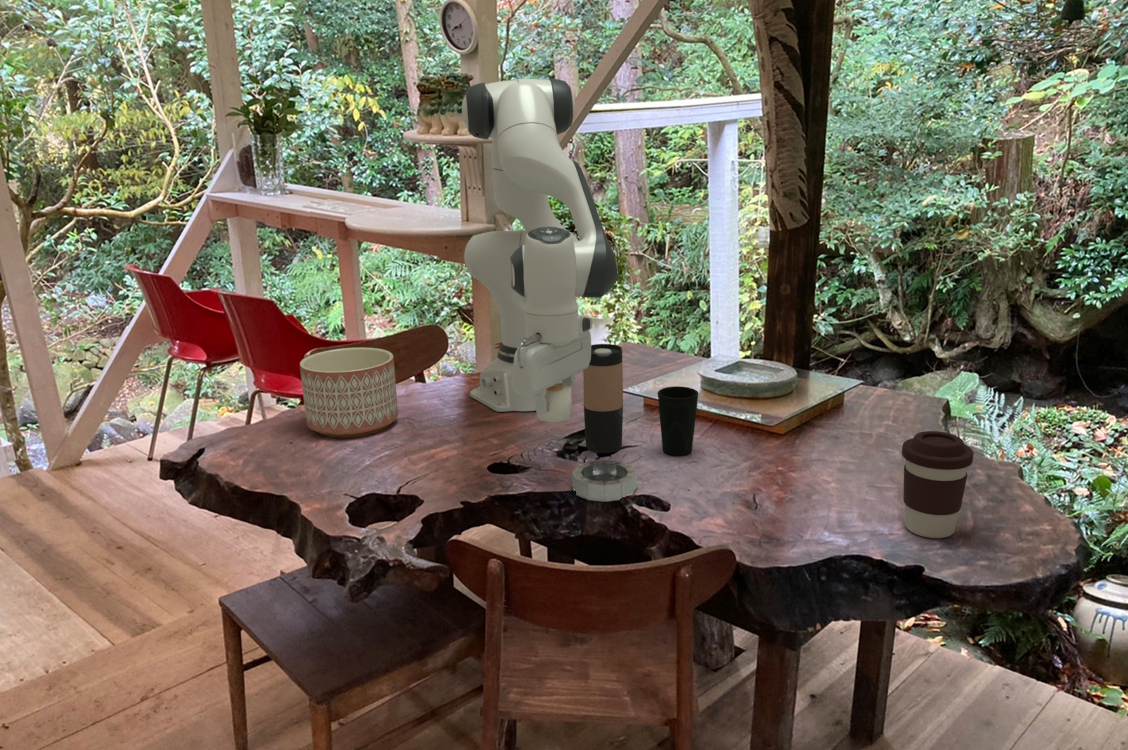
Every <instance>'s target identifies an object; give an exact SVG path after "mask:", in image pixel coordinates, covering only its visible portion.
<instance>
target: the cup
mask: <svg viewBox="0 0 1128 750" xmlns="http://www.w3.org/2000/svg"><path fill="white" fill-rule="evenodd" d="M657 398H658V399H657V400H658V401H657V402H658V410H659V411H658V413H659V422H660V423H659V424H660V434H661V435H660V436H661V445H662V452H663V454H664V455H666V456H668V457H672V458H673V457H675V458H682V457H688V456H690V455H691V454H692V452H693V446H694V445H693V443H694V435H695V425H696V418H697V410H698V401H699V391H698V390H697V389H695V388H692V387H687V386H676V385H675V386H666V387H663V388H660V389H659V390H658V391H657Z"/></svg>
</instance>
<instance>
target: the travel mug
mask: <svg viewBox="0 0 1128 750" xmlns="http://www.w3.org/2000/svg"><path fill="white" fill-rule="evenodd" d="M623 368H624V367H623V348H622V347H621V346H620V345H617V344H613V343H612V344H610V343H597V344H596V343H595V344H591V360H590V363H589V366H588V367H587V368H586V369H584V370H582V372H583V374H582V375H583V381H582V382H583V414H584V415H583V417H584V418H583V420H584V437H585V438H584V439H585V448H586V450H588V451H589V452H592V453H596V454H610V453H615V452H618V451H620V450H621V449H622V448H623V427H624V425H623V423H624V421H623V419H624V382H623V381H624V379H623V377H624V376H623V375H624V372H623Z"/></svg>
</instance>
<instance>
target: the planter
mask: <svg viewBox="0 0 1128 750" xmlns="http://www.w3.org/2000/svg"><path fill="white" fill-rule="evenodd" d="M395 370H396V369H395V359H394V355H393V353H392V352H391V351H389V350H385V349H382V348H376V347H364V346H363V347H345V348H344V347H343V348H337V349H329V350H325V351H320V352H317V353H314V354H310V355H309V356H306V357H304V358H303V359H301V361H300V362H299V371H300V377H301V379H300V380H301V388H302V396H303V404H304V412H305V422H306V425H307V427H308V428H309V429H310V430H311V431H313V432H317V433H319V434H320V435H322V436H325V437H330V438H331V437H332V438H340V439H341V438H357V437H363V436H368V435H371V434H375V433H379V431H380V432H381V431H382V430H384V429H386V428H387V427H388V426H389V425H390V424H392V423H394V422H395V421H396V420H397V418H398V417H399V407H398V395H397V394H398V393H397V384H396V383H397V382H396V373H395Z"/></svg>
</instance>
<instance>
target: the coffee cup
mask: <svg viewBox="0 0 1128 750" xmlns="http://www.w3.org/2000/svg"><path fill="white" fill-rule="evenodd" d="M901 447H902V448H901V455H902V457H903V458H904V460H905V463H904V466H903V503H904V526H905V528H906V529H907V530H908V531H909V532H911V533H913V534H915V535H917V536H920V537H923V538H929V539H943V538H945V539H946V538H948V537H950V536H952V535H953V534H954V533H955V531H956V527H957V521H958V516H959V512H960V510H961V508H962V504H963V499H964V494H965V489H966V485H967V479H968V472H967V470H968V467H970V466H971V465H972V464H973V461H974V453H975V452H974V450H973V449H972V448H971V447H970V446H969V445H967V444H965V443H964V441H963V439H962V438H961V437H960V436H959V435H955V434H954V433H953V434H952V433H950V432H945V431H939V430H927V431H920V432H918V433H916V434H915V435H914V436H913V437H912V438H909V439H906V440H905V441H903V443H902V445H901Z"/></svg>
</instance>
